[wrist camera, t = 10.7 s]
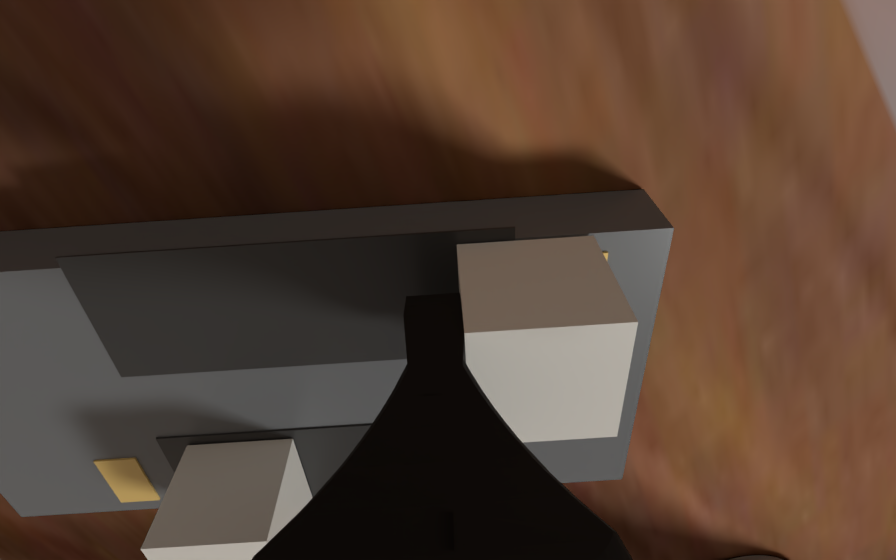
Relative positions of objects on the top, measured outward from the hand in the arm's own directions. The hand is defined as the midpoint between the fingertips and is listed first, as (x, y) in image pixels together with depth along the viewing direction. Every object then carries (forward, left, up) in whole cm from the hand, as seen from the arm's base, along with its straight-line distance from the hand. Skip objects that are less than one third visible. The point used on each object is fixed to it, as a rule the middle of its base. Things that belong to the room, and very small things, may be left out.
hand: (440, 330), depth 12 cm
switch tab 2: (0, -2, -1) cm, 2 cm away
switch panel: (-3, +4, -3) cm, 6 cm away
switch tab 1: (-6, +6, -1) cm, 9 cm away
